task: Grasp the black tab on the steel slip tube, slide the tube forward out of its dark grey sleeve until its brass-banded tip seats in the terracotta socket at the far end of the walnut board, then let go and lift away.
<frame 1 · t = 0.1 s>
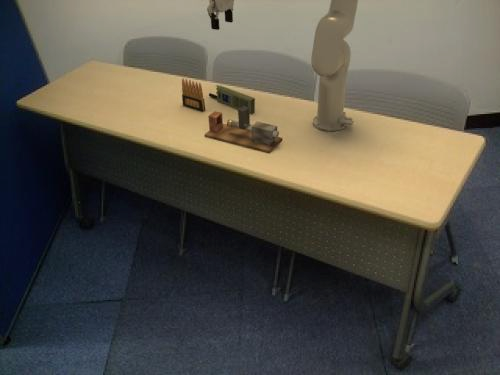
hand: (222, 25, 180), 31 cm above the table, tool pointing down, fingers open, 9 cm apart
ammunition clip: (194, 108, 194), on the table
slip tube: (252, 121, 166), point 8 cm above the table, slide at 0.0 cm
handheld radio: (230, 105, 195), on the table
tube stand: (247, 139, 171), on the table
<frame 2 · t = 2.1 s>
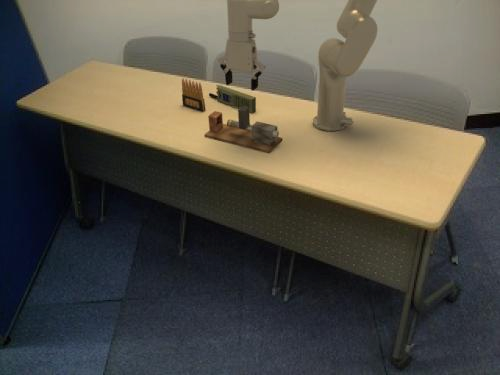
hand: (241, 86, 160), 20 cm above the table, tool pointing down, fingers open, 9 cm apart
nothing on the table moved.
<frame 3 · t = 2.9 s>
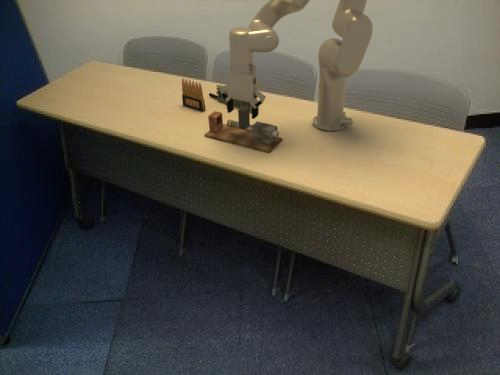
hand: (242, 114, 166), 10 cm above the table, tool pointing down, fingers open, 9 cm apart
nothing on the table moved.
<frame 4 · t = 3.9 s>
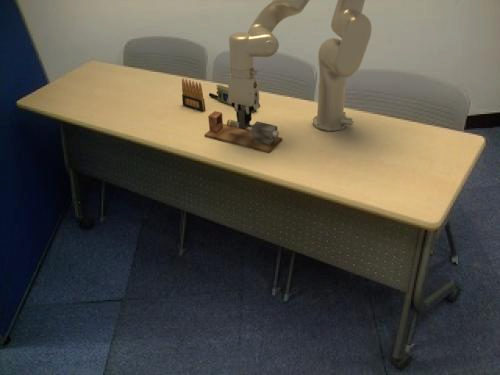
hand: (244, 121, 168), 7 cm above the table, tool pointing down, fingers closed on slip tube, 2 cm apart
slip tube: (252, 121, 166), point 8 cm above the table, slide at 0.0 cm, touching gripper
everything else where it was.
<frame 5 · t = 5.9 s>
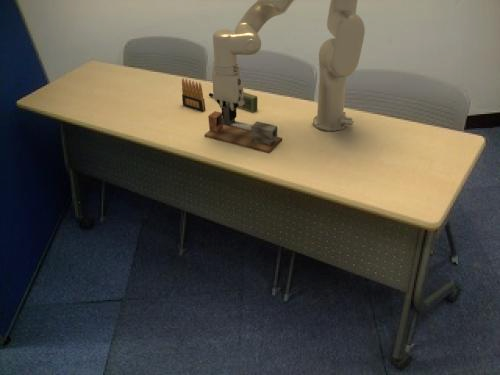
hand: (229, 117, 170), 7 cm above the table, tool pointing down, fingers closed on slip tube, 2 cm apart
slip tube: (237, 117, 168), point 8 cm above the table, slide at 6.1 cm, touching gripper
everything else where it was.
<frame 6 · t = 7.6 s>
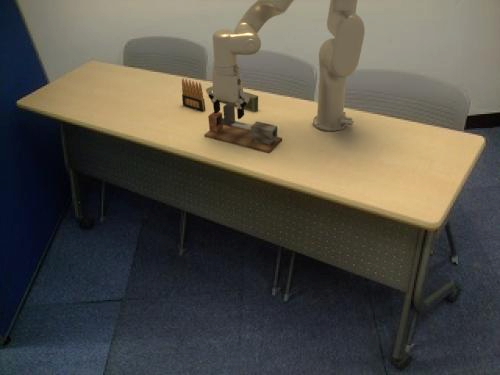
hand: (228, 114, 170), 8 cm above the table, tool pointing down, fingers open, 9 cm apart
slip tube: (237, 117, 168), point 8 cm above the table, slide at 6.0 cm
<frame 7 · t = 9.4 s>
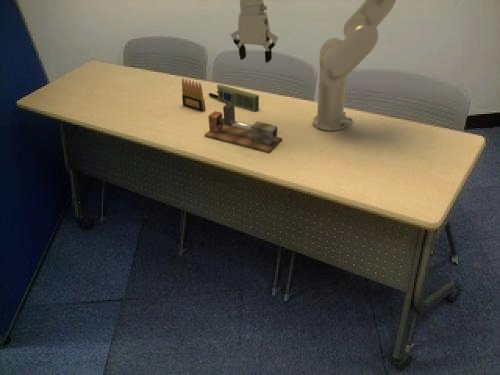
hand: (255, 59, 164), 26 cm above the table, tool pointing down, fingers open, 9 cm apart
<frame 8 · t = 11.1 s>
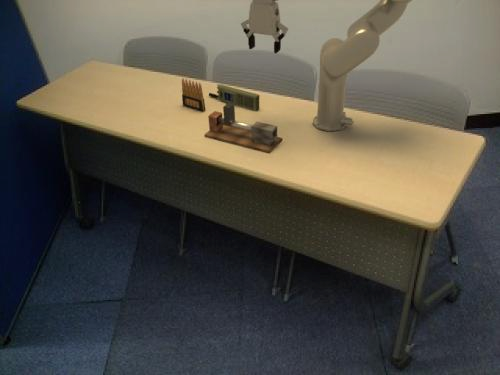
hand: (264, 50, 165), 28 cm above the table, tool pointing down, fingers open, 9 cm apart
at the end: slip tube slide at 6.0 cm; the gripper is holding nothing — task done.
